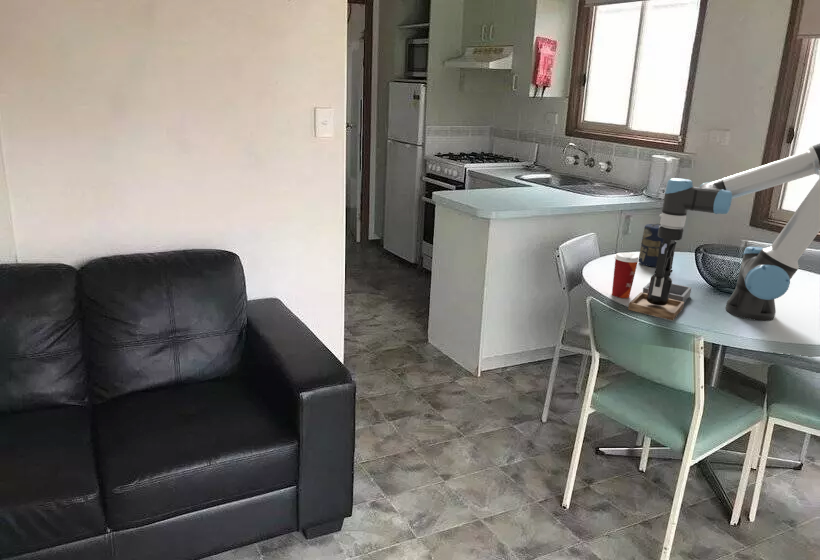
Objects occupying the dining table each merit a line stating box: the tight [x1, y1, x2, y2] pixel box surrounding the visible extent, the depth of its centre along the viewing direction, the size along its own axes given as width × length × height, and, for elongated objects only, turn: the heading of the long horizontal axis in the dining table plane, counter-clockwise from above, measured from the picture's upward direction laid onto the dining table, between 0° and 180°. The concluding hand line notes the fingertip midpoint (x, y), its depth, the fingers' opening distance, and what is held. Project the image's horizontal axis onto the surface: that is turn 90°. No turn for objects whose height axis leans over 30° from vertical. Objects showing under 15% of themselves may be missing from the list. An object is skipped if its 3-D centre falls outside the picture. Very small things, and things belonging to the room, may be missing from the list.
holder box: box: [642, 282, 692, 304], centre depth 229 cm, size 14×14×4 cm
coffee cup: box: [611, 252, 639, 299], centre depth 226 cm, size 8×8×15 cm
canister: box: [638, 223, 664, 268], centre depth 267 cm, size 10×10×18 cm
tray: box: [627, 291, 685, 321], centre depth 216 cm, size 15×15×2 cm
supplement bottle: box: [647, 268, 673, 306], centre depth 214 cm, size 7×7×12 cm
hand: (659, 292), depth 214 cm, fingers closed on supplement bottle, 7 cm apart
